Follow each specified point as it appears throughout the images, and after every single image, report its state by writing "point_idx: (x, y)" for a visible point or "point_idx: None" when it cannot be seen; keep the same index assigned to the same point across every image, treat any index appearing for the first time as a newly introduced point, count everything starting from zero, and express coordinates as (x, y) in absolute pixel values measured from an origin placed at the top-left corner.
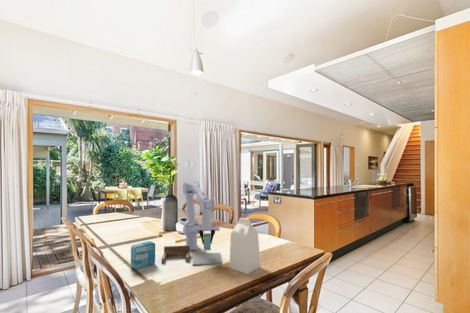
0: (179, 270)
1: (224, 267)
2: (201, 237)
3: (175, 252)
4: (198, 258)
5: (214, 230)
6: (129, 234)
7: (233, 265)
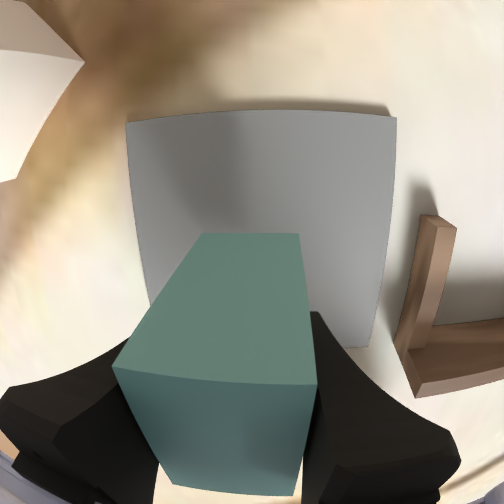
0: (472, 62)
1: (115, 60)
2: (363, 383)
3: (490, 338)
4: (341, 247)
5: (20, 469)
6: (498, 476)
7: (50, 40)
